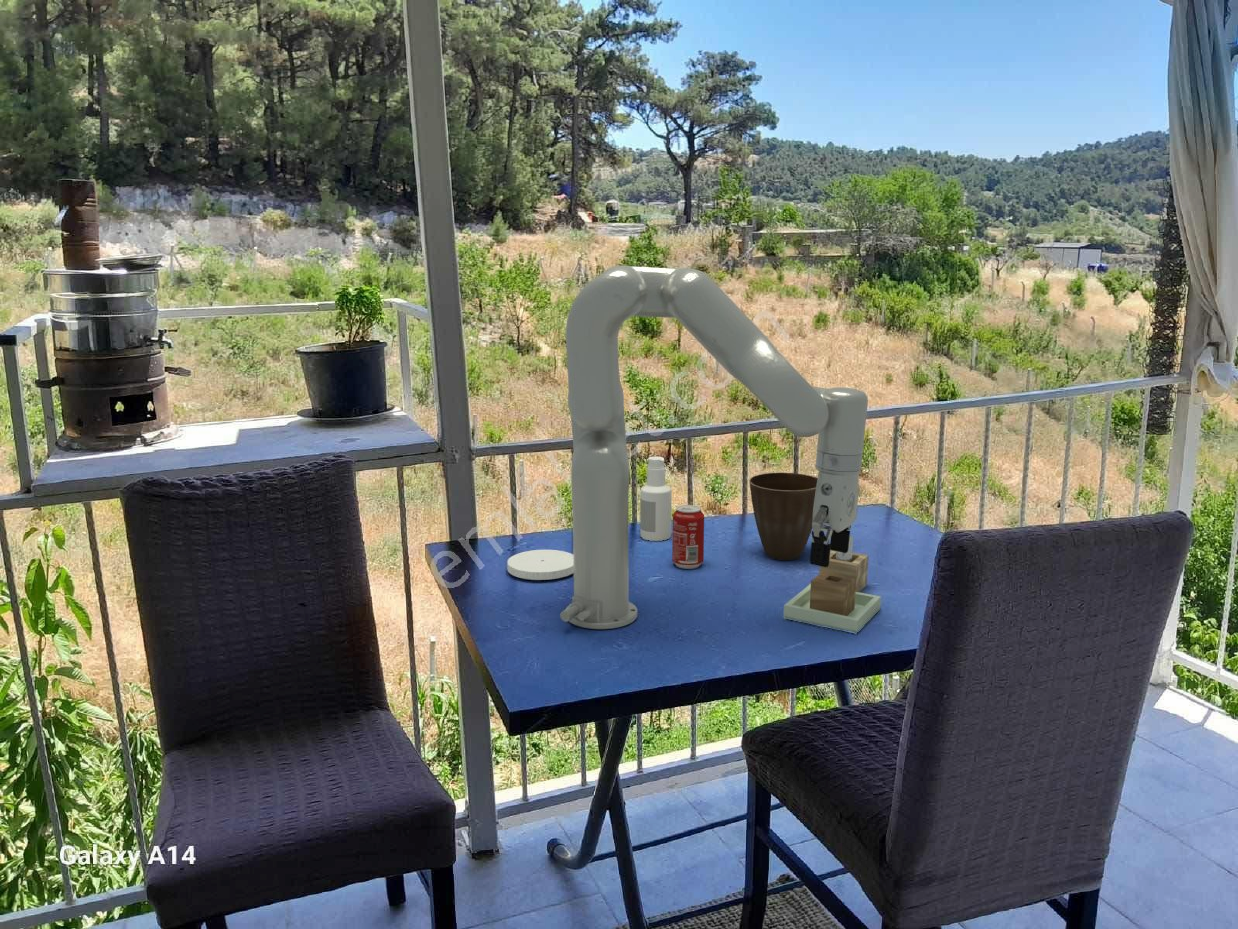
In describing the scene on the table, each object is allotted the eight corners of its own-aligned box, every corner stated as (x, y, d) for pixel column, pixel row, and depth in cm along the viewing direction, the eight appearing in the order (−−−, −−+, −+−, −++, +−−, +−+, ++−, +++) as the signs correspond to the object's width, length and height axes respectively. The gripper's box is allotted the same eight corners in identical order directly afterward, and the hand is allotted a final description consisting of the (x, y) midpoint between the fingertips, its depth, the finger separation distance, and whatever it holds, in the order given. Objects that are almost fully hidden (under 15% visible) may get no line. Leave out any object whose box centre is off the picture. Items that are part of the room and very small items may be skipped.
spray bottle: (646, 531, 215) (646, 453, 211) (675, 534, 212) (675, 456, 208) (635, 539, 209) (636, 460, 205) (665, 543, 206) (665, 462, 202)
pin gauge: (847, 591, 177) (850, 540, 175) (832, 588, 179) (834, 537, 176) (852, 586, 180) (855, 536, 177) (837, 583, 181) (839, 533, 179)
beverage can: (703, 560, 195) (704, 504, 192) (703, 570, 189) (704, 512, 186) (672, 559, 195) (673, 503, 193) (671, 569, 189) (672, 512, 187)
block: (842, 620, 162) (844, 587, 161) (809, 613, 165) (810, 580, 164) (854, 609, 167) (856, 576, 166) (821, 602, 170) (823, 570, 169)
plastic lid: (530, 590, 179) (530, 577, 179) (494, 570, 190) (494, 558, 190) (591, 575, 187) (591, 563, 187) (554, 556, 198) (553, 545, 198)
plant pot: (820, 568, 190) (824, 491, 186) (745, 564, 192) (747, 488, 189) (818, 546, 204) (822, 474, 200) (748, 542, 206) (751, 471, 203)
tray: (856, 634, 157) (857, 620, 157) (783, 619, 164) (783, 605, 164) (880, 609, 168) (881, 596, 168) (810, 596, 175) (811, 583, 174)
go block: (854, 596, 175) (856, 565, 173) (818, 589, 178) (819, 559, 177) (866, 585, 180) (868, 555, 179) (831, 578, 184) (832, 549, 183)
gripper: (843, 474, 151) (832, 576, 155) (876, 456, 165) (866, 550, 169) (798, 466, 155) (789, 566, 159) (834, 450, 169) (825, 542, 173)
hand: (829, 558), depth 164 cm, fingers open, 9 cm apart
